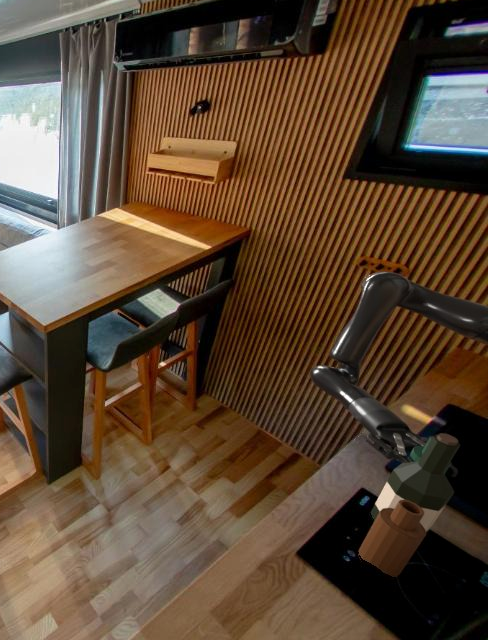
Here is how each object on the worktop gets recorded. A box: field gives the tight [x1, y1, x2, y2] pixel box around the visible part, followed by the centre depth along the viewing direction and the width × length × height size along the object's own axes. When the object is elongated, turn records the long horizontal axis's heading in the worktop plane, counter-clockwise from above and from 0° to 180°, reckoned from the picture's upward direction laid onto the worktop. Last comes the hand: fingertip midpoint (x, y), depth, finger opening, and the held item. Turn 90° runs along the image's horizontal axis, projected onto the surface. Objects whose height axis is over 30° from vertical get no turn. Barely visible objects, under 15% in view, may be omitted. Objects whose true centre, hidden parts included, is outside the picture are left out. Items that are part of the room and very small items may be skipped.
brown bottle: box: [358, 500, 427, 578], centre depth 76 cm, size 6×6×20 cm
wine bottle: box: [370, 432, 461, 535], centre depth 79 cm, size 8×8×30 cm
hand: (437, 473), depth 85 cm, fingers closed on green bottle, 5 cm apart
